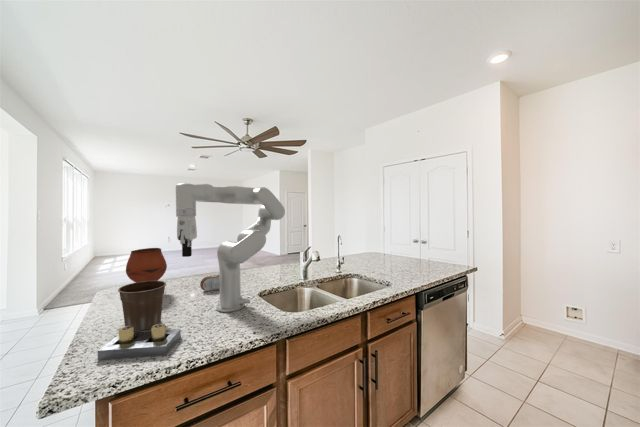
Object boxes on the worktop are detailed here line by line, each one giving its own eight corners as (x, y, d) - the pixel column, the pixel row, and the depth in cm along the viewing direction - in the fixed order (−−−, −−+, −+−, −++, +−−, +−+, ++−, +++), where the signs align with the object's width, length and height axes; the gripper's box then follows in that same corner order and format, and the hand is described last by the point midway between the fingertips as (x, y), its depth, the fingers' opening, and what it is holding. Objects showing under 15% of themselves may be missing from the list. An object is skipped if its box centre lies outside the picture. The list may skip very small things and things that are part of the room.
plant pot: (171, 325, 107) (170, 285, 107) (122, 339, 96) (121, 295, 96) (161, 314, 119) (160, 278, 119) (116, 325, 108) (115, 285, 108)
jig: (180, 337, 97) (180, 318, 97) (165, 355, 85) (165, 333, 85) (121, 341, 95) (121, 321, 94) (97, 360, 83) (97, 337, 83)
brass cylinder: (167, 343, 93) (167, 323, 93) (162, 349, 89) (161, 328, 89) (155, 343, 93) (155, 323, 92) (149, 349, 89) (149, 328, 88)
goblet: (160, 287, 160) (159, 246, 160) (172, 293, 148) (171, 249, 147) (121, 295, 146) (120, 250, 145) (131, 303, 133) (130, 253, 133)
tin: (226, 286, 160) (226, 273, 160) (228, 288, 158) (228, 274, 158) (200, 292, 151) (199, 277, 151) (201, 293, 148) (201, 278, 148)
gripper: (189, 213, 105) (190, 259, 105) (201, 212, 120) (201, 253, 120) (169, 213, 104) (169, 260, 104) (183, 212, 119) (184, 253, 119)
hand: (187, 256), depth 112 cm, fingers closed
